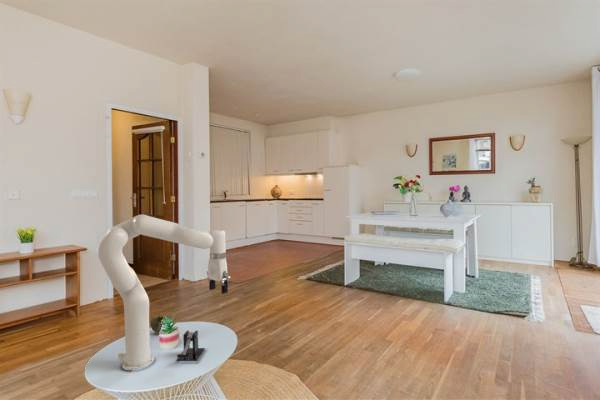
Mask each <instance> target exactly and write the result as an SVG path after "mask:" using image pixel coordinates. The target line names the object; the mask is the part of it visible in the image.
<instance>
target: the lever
mask: <svg viewBox="0 0 600 400" xmlns="http://www.w3.org/2000/svg"><path fill="white" fill-rule="evenodd" d="M194 332H195V331H194ZM194 332H193V331H191V332H190V331H189V333H188V336H187V339H188V341H187V344H186V346H185V349H184V348H183V351H182V353H183V354H182V353H181V354H179V353H178V354H177V355H176V359H178V358H189V357H190V355H189V354H186V352H187V350H188V347H189V345H190V344H191V342H193V341H192V335H193V333H194Z"/></svg>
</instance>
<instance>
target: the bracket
mask: <svg viewBox="0 0 600 400" xmlns="http://www.w3.org/2000/svg"><path fill="white" fill-rule="evenodd" d="M189 332H190V330H186V331H185V332H184V334H183V337H182V338H183V350H184V349H185V346H186V344H187V341H188V339H187V336H188V333H189ZM191 342H192V347H190V344H189V347H188V350H187V352H186V354H189V355H190V357H189V358H176V362H198V361H199V359H200V357H201V356H202V355H203V353H204V351H205V350H206V348H205V347H199V330H195V331H194V333H193V335H192V341H191ZM181 354H183V352H181Z"/></svg>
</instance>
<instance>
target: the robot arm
mask: <svg viewBox="0 0 600 400" xmlns="http://www.w3.org/2000/svg"><path fill="white" fill-rule="evenodd" d="M140 235H142V236H144V237H150V238H154V239H159V240H163V241H167V242H171V243H174V244H180V245H184V246H187V247H192V248H195V249H196V248H198V249H201V250H207V249H209V259H208V264H207V271H206V275H207V279H208V282H209V283H208V286H209V289H208V290H209V291H213V290H215V289H216V282H220V283H221V286H220V287H221V288H220V289H221V294H222V295H224V294H227V293H228V292H229V287H228V286H229V283H230V281H231V276H230V274H228V263H227V247H226V245H227V244H226V243H227V241H226V240H227V239H226V231H225V230H222V229H220V230H219V229H214V230H197V229H195V228H194V229H193V228H190V227H187V226H184V225H181V224H180V223H177V222H173V221H169V220H165V219H162V218H157V217H155V216H150V215H147V214H143V213H142V214H138V215H134V216H133V217H131V218H129V219H127V220H125V221H122V222H120V223H118V224H116V225H113V226H111V227H110V228H108V229H107V231H106V232H105V235H104V237H103V238H102V240H101V242H100V243H99V246H98V259H99V261H100V263H101V266H102V267H103V269H104V271H105V273H106V275H107V276H108V278H109V280H110V282H111V285H112V287H113V288H114V289H115V290H116V291H117V292H118V294H119V296H120V297H121V299H122V301H123V302H122V303H123V312H124V341H125V343H124V344H125V345H124V346H125V352H118V354H117V361H122V363H121V367H122V369H123V370H124V371H133V370H137V369H141V368H144V367H147V366H148V365H150V364H152V363H153V362H154V361H155V356H154V355H153V354H151V336H150V335H151V334H150V333H151V331H150V298H149V296H148V293H147V291H146V290H145V288H144V286H143V285H142V283H141V281H140V279H139V277H138V275H137V273H136V272H135V270H134V269H133V268H132V267H131V266H130V265H129V263H128V261H127V259H126V257H125V255H124V253H123V248H125V246H126V245H127V243H128V241H130V240H132V239H134V238H136V237H138V236H140Z"/></svg>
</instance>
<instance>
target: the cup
mask: <svg viewBox="0 0 600 400" xmlns="http://www.w3.org/2000/svg"><path fill="white" fill-rule="evenodd" d="M165 317H166V316H162V315H161V316H160V315H157V316H154V317H152V318H151V319H150V318H149V323H150V328H151V330H152V331H153V333H154V334H155V335H157V336H158V335H160V334H159V332H160V330H161V327H162V324H161V320H162V319H163V318H165Z"/></svg>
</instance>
